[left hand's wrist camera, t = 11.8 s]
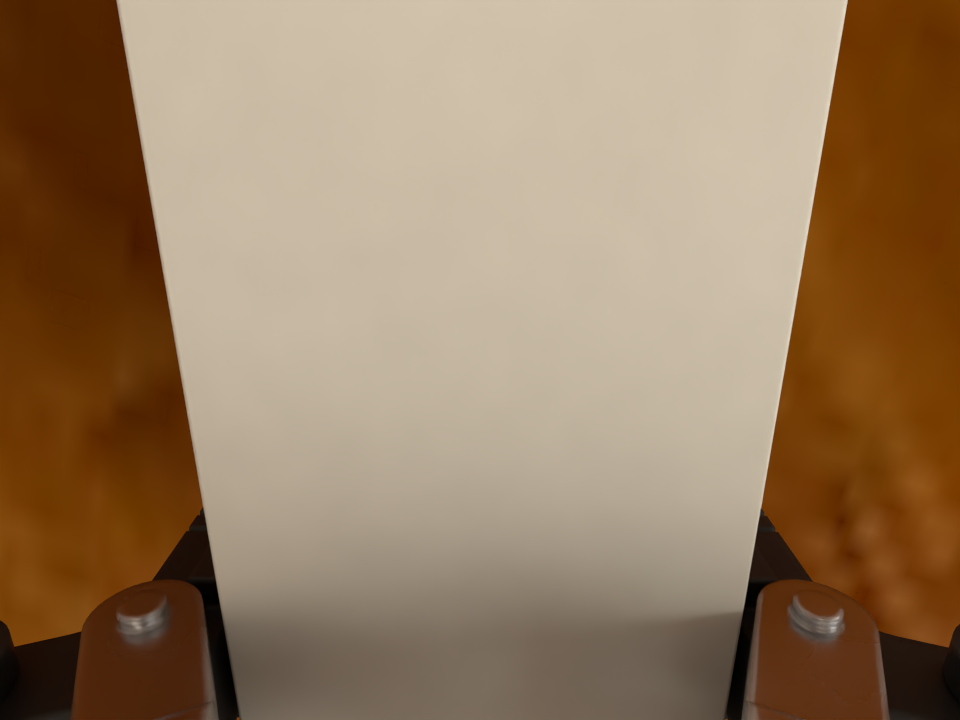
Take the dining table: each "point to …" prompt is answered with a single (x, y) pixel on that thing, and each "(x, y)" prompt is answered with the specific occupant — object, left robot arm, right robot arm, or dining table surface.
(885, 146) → the dining table surface
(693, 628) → the bar
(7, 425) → the dining table surface
